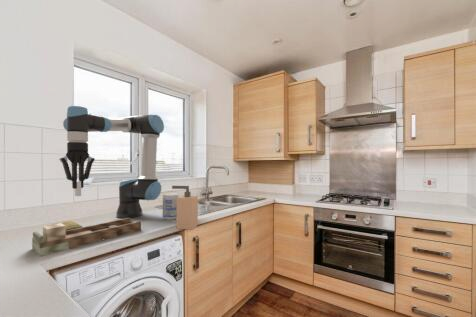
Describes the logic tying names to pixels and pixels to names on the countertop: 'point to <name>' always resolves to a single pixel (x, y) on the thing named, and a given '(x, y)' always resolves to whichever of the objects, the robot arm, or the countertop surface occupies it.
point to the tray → (84, 236)
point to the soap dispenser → (186, 209)
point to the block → (54, 232)
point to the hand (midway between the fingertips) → (78, 195)
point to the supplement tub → (170, 206)
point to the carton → (70, 225)
